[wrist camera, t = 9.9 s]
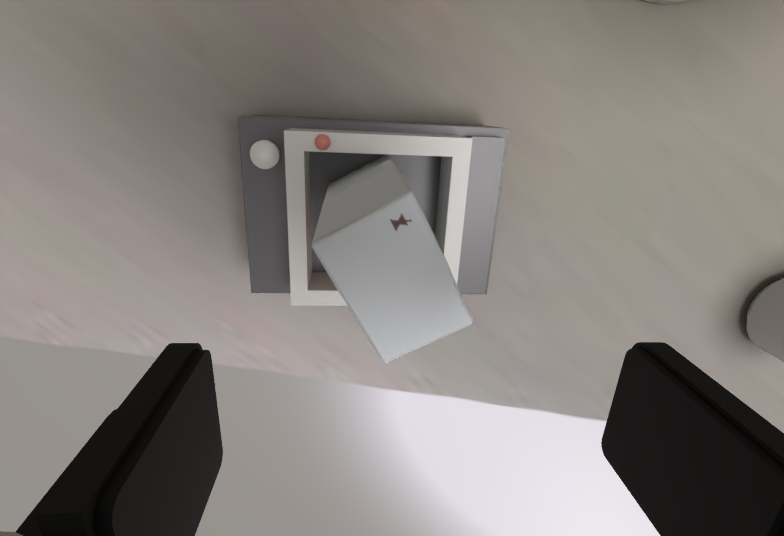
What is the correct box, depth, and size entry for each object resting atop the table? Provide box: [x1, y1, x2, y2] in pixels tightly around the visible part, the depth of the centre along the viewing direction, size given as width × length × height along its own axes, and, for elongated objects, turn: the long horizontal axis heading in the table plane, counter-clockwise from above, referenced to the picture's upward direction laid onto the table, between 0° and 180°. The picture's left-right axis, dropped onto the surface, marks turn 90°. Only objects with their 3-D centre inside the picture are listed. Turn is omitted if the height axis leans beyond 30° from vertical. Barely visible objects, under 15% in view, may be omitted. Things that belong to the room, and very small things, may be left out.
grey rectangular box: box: [238, 115, 509, 306], centre depth 28 cm, size 16×11×8 cm
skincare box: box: [312, 154, 473, 364], centre depth 21 cm, size 6×4×12 cm
